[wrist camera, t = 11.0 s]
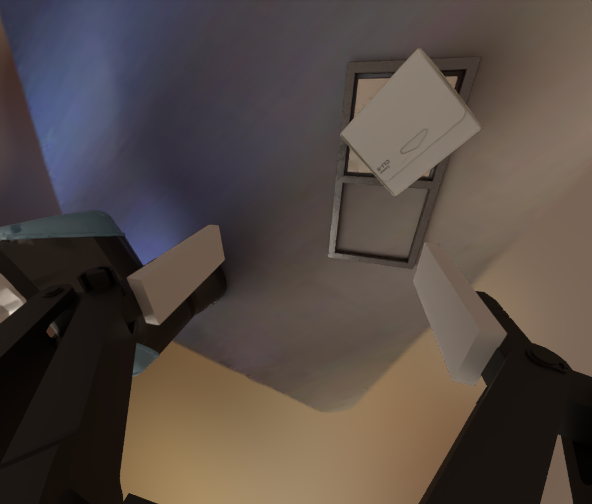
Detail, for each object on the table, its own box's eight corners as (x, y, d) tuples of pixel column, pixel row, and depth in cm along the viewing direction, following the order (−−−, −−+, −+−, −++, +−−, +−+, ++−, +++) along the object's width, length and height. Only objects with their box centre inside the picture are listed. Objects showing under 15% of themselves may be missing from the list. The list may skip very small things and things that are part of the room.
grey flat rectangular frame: (328, 254, 41) (328, 257, 40) (348, 64, 28) (347, 62, 27) (411, 265, 38) (412, 269, 37) (477, 59, 25) (481, 56, 24)
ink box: (400, 72, 27) (422, 39, 17) (444, 127, 28) (490, 127, 18) (345, 133, 31) (336, 135, 21) (386, 178, 32) (396, 200, 22)
